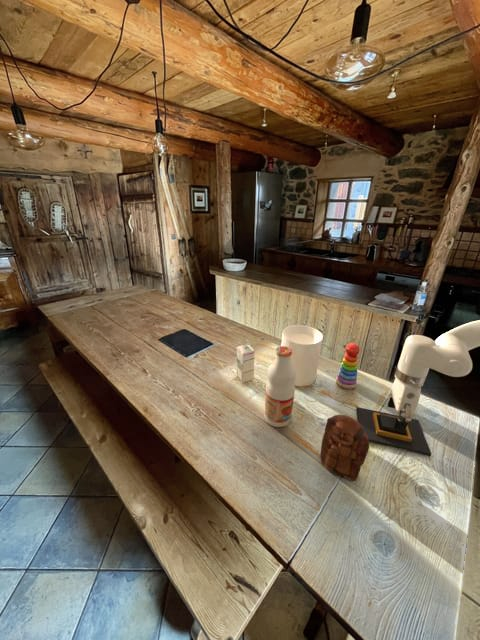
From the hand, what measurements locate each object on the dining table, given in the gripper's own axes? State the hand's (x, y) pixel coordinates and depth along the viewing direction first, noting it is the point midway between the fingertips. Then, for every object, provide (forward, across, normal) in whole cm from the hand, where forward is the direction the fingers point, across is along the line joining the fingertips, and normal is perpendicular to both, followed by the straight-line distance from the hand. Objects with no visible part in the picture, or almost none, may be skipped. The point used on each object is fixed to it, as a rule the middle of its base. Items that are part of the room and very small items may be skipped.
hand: (395, 417), depth 86 cm
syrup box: (+5, +12, +54) cm, 56 cm away
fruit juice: (+6, -6, +37) cm, 38 cm away
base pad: (+6, 0, 0) cm, 6 cm away
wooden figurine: (+6, -19, +17) cm, 26 cm away
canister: (+6, +21, +33) cm, 40 cm away
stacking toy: (+6, +21, +13) cm, 26 cm away
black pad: (+5, 0, 0) cm, 5 cm away
